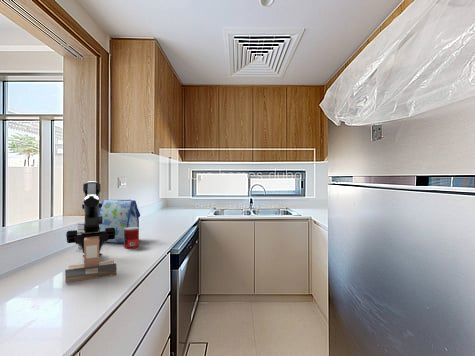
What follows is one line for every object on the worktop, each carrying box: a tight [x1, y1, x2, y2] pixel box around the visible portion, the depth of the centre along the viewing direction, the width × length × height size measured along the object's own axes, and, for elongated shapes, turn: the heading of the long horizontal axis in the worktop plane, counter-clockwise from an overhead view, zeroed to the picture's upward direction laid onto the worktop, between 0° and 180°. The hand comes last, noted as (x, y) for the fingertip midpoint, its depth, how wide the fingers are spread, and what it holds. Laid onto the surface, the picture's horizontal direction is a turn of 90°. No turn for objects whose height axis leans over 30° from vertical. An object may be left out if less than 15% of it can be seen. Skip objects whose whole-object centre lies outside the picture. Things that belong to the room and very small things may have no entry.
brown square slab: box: [64, 259, 117, 283], centre depth 123 cm, size 18×18×4 cm
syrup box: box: [76, 221, 85, 249], centre depth 169 cm, size 6×6×14 cm
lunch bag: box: [98, 199, 141, 244], centre depth 185 cm, size 22×17×26 cm
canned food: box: [123, 226, 140, 249], centre depth 168 cm, size 8×8×11 cm
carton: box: [83, 237, 100, 267], centre depth 123 cm, size 6×6×12 cm
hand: (91, 251), depth 122 cm, fingers closed on carton, 5 cm apart
